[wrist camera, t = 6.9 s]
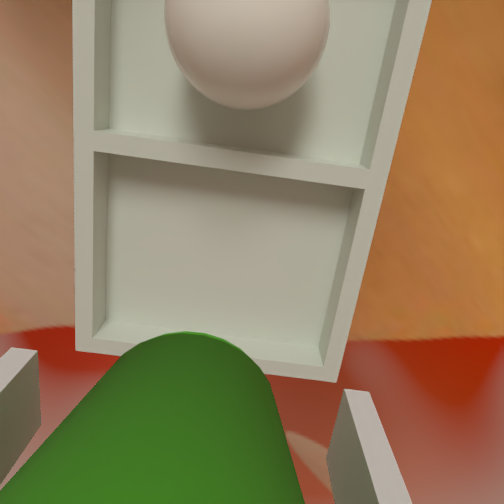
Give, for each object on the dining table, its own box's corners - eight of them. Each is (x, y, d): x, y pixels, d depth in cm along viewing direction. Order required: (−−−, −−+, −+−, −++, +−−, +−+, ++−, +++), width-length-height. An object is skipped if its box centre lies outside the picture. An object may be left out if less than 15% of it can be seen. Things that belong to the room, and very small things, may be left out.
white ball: (175, 98, 22) (140, 96, 15) (186, -57, 20) (149, -138, 13) (304, 117, 22) (324, 123, 16) (330, -33, 20) (366, -102, 13)
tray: (94, 325, 28) (75, 350, 25) (98, -142, 19) (70, -184, 16) (328, 354, 28) (336, 382, 25) (432, -86, 20) (461, -118, 17)
